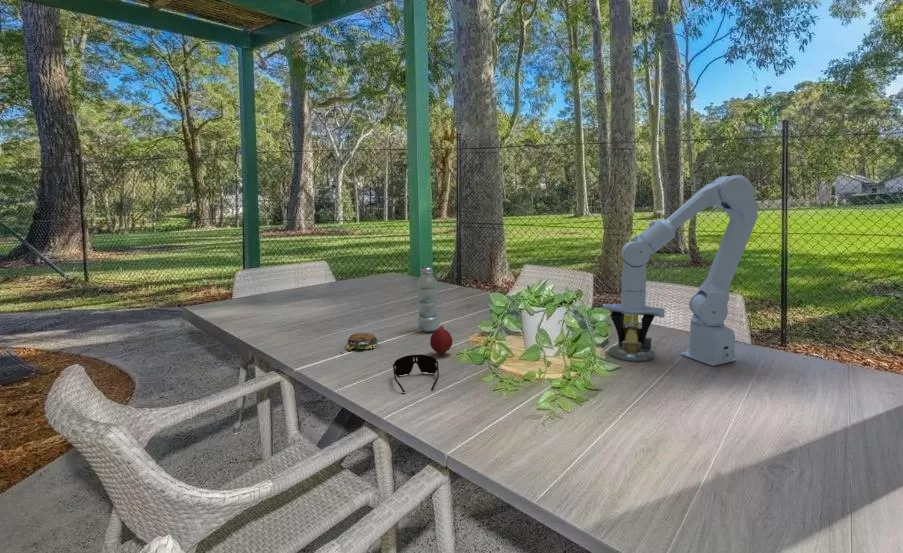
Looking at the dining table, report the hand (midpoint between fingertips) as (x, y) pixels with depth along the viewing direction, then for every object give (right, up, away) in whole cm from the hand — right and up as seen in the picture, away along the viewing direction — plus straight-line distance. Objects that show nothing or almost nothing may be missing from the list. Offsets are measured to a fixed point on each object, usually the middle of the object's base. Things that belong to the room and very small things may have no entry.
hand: (631, 342), depth 124 cm
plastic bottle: (-53, 0, +28) cm, 60 cm away
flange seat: (0, -3, +1) cm, 3 cm away
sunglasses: (-54, -8, -14) cm, 56 cm away
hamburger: (-72, -4, +13) cm, 73 cm away
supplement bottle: (+9, +1, +26) cm, 27 cm away
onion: (-48, -4, +5) cm, 49 cm away
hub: (0, -2, +1) cm, 3 cm away
